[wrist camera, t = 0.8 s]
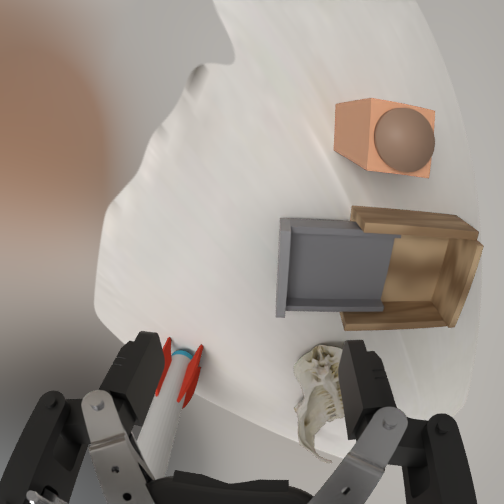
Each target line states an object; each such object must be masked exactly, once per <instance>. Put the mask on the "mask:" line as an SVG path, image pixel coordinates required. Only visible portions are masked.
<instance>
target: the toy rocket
mask: <svg viewBox="0 0 504 504" xmlns="http://www.w3.org/2000/svg"><path fill="white" fill-rule="evenodd" d="M162 350H163V353H164V357H165V366H164V370H163V373H162V376H161V378H160V381H159V384H158V386H157V389H156V391H155V397H154V399H153V402H152V404H151V407H150V409H149V412H148V414H147V417H146V419H145V422H144V424H143V427H142V429H141V432H140V434H139V437H138V440H137V444H138V447H139V449H140V451H141V453H142V455H143V458H144V460H145V462H146V464H147V466H148V468H149V469H150V471H151V473H152V474H153V476H154V478H155V479H158V478H162V477H165V475H166V471H167V467H168V463H169V459H170V455H171V451H172V446H173V442H174V438H175V434H176V430H177V426H178V422H179V418H180V414H181V411H182V409H183V408H184V407H185V406H186V405H187V404H188V402H189V401H190V399H191V398H192V396H193V394H194V391H195V388H196V385H197V382H198V378H199V373H200V369H201V367H198V365H199V362H200V358H201V354H202V350H203V345H202V344H201V345H200V346H199V348H198V350H197V351H196V353H195V355H194V356H192V355H191V354H190V353H188V352H186V351H183V350H178V351H175V352H174V353H173V354H172V356H171V339H170V337H169V338H168V339H167V341H166V343H165V345H164V347H163V349H162Z"/></svg>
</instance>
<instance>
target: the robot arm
mask: <svg viewBox="0 0 504 504" xmlns="http://www.w3.org/2000/svg"><path fill="white" fill-rule="evenodd" d="M164 366H165V357H164V353H163V350H162V346H161V342H160V339H159V335H158V334H157V333H154V332H145V331H140V332H139V334H138V335H137V337H136V339H135V341H129V342H128V343H127V344H125V345H124V346H123V347H122V348H121V350H120V351H119V353H118V355H117V358H116V359H115V360H114V362H113V365H112V366H111V368H110V369H109V371H108V373H107V375H106V377H105V379H104V381H103V383H102V384H101V386H100V388H99V390H95V391H92V392H90V393H88V394H87V395H86V396H85V397H84V398H83V399H65V397H64V396H63V394H62V393H60V392H58V391H49V392H47V393H45V394H44V395H42V397H41V398H40V399H39V401H38V403H37V405H36V407H35V409H34V411H33V413H32V414H31V416H30V418H29V420H28V422H27V424H26V426H25V428H24V430H23V432H22V434H21V436H20V438H19V440H18V442H17V444H16V447H15V449H14V451H13V453H12V455H11V458H10V460H9V462H8V464H7V467H6V469H5V471H4V474H3V477H2V479H1V481H0V504H69V500H70V497H71V494H72V491H73V488H74V485H75V482H76V478H77V476H78V472H79V470H80V467H81V464H82V461H83V458H84V456H85V453H86V450H87V447H88V444H91V445H90V446H89V453H90V456H91V459H92V463H93V466H94V469H95V472H96V475H97V478H98V480H99V483H100V486H101V489H102V491H103V494H104V496H105V499H106V501H107V504H364V503H365V502H366V500H367V499H368V497H369V496H370V494H371V493H372V491H373V490H374V488H375V487H376V485H377V483H378V482H379V480H380V479H381V477H382V475H383V473H384V471H385V467H386V465H387V464H390V465H398V466H402V471H403V479H404V486H405V495H406V504H477V500H476V495H475V490H474V486H473V481H472V477H471V472H470V468H469V465H468V460H467V456H466V453H465V449H464V445H463V442H462V439H461V435H460V432H459V429H458V426H457V423H456V421H455V420H454V419H453V418H452V417H451V416H449V415H447V414H436V415H434V416H432V417H431V418H430V419H429V421H426V420H417V419H411V418H408V417H406V415H405V414H404V413H403V412H402V411H401V410H400V409H398V408H397V407H396V404H395V401H394V397H393V394H392V391H391V388H390V384H389V381H388V378H387V375H386V372H385V371H384V366H383V363H382V360H381V358H380V357H379V356H378V355H377V354H376V353H375V352H374V351H370V352H367V350H366V347H365V344H364V341H363V340H347V341H345V343H344V346H343V350H342V354H341V358H340V362H339V367H338V378H339V384H340V390H341V396H342V402H343V408H344V415H345V421H346V428H347V435H348V440H353V439H356V444H355V445H354V447H353V448H352V449H351V451H350V452H349V453H348V454H347V455H346V456H345V458H344V459H343V461H342V462H341V463H340V464H339V466H338V467H337V469H336V470H335V471H334V473H333V474H332V475H331V476H330V478H329V479H328V480H327V481H326V482H325V484H324V485H323V486H322V487H321V489H320V490H319V491H318V492H317V493H316V495H315V496H312V495H311V494H309V493H307V492H305V491H303V490H301V489H298V488H295V487H291V486H289V482H288V481H289V480H256V481H249V482H242V483H234V484H228V483H224V482H222V481H219V480H216V479H213V478H210V477H207V476H205V475H202V474H195V473H189V472H183V471H177V470H175V472H174V476H169V477H162V478H158V479H155V478H154V476H153V474H152V473H151V471H150V469H149V468H148V466H147V464H146V462H145V460H144V458H143V455H142V453H141V451H140V449H139V447H138V444H137V442H136V440H135V437H134V435H133V433H132V428H133V426H134V425H138V426H143V424H144V421H145V418H146V416H147V413H148V410H149V408H150V405H151V402H152V399H153V397H154V394H155V391H156V389H157V386H158V384H159V381H160V378H161V376H162V373H163V370H164Z"/></svg>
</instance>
